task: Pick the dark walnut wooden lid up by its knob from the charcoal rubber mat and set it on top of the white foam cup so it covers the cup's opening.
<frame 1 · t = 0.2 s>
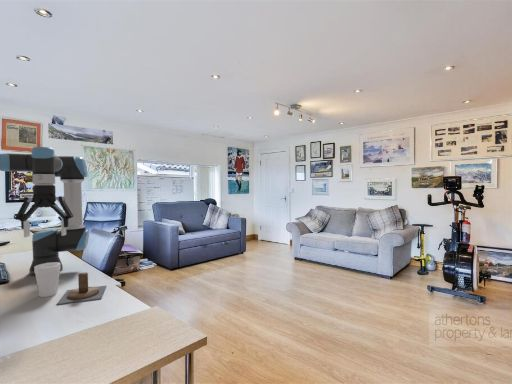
hand: (45, 236, 119), 27 cm above the table, fingers open, 13 cm apart
mat: (83, 295, 126), on the table
foam cup: (48, 294, 128), on the table
lid: (83, 283, 126), on the mat
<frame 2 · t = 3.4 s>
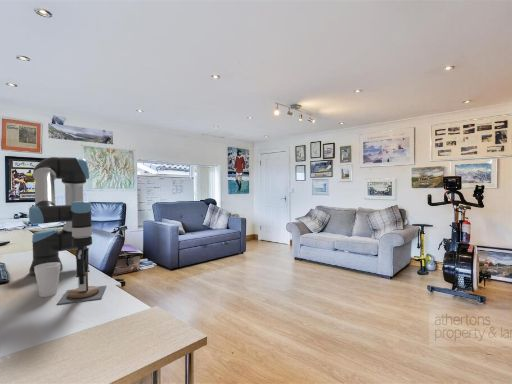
hand: (83, 289, 126), 3 cm above the table, fingers closed on lid, 3 cm apart
lid: (83, 283, 126), point 5 cm above the table, touching gripper
everything else where it was.
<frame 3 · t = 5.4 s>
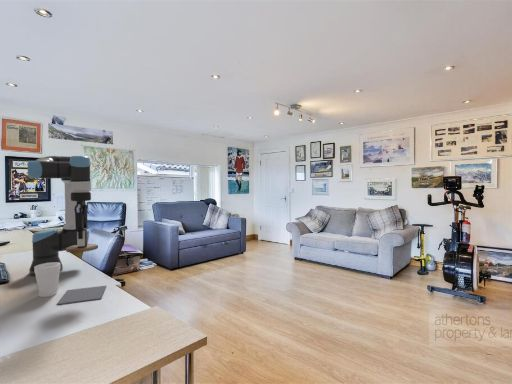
hand: (82, 245, 126), 22 cm above the table, fingers closed on lid, 3 cm apart
lid: (82, 238, 126), point 25 cm above the table, touching gripper
everything else where it was.
when the fingers open (17 cm above the table, at t = 7.9 s): lid drops 2 cm, resting on foam cup.
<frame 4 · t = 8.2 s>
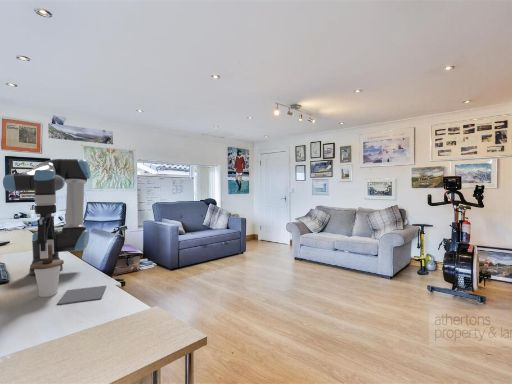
hand: (47, 256, 127), 17 cm above the table, fingers open, 7 cm apart
foam cup: (48, 294, 128), on the table, touching lid
lid: (47, 255, 127), point 18 cm above the table, touching foam cup
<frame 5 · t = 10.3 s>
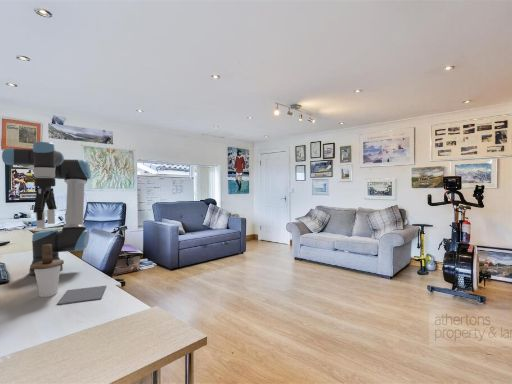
hand: (46, 225, 127), 31 cm above the table, fingers open, 13 cm apart
nothing on the table moved.
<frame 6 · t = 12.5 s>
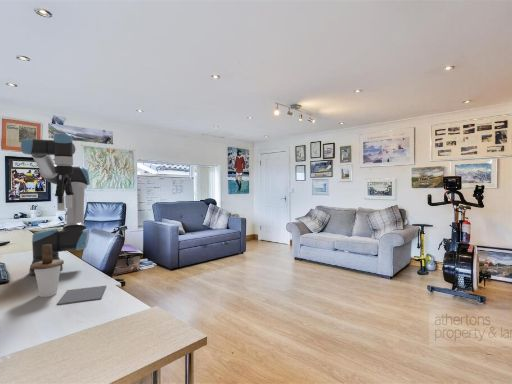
hand: (65, 209, 141), 37 cm above the table, fingers open, 13 cm apart
nothing on the table moved.
at the end: lid 0.1 cm from the foam cup (horizontally); lid point 17.5 cm above the table; foam cup tilted 0° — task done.
